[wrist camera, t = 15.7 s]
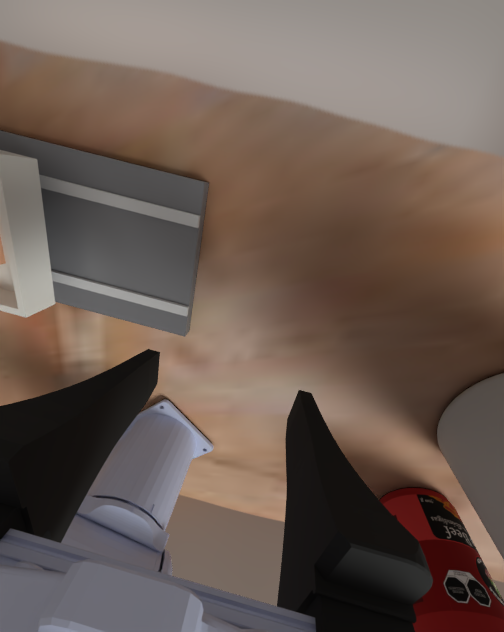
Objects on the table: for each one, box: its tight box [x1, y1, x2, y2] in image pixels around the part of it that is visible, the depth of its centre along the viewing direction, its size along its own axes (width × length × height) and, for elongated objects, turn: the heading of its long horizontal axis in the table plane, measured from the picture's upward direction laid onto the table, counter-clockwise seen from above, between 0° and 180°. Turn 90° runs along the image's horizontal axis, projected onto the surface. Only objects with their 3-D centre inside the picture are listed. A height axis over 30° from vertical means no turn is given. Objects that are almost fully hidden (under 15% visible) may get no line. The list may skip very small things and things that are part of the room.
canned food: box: [379, 488, 504, 632], centre depth 24 cm, size 8×8×11 cm
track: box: [0, 130, 209, 336], centre depth 20 cm, size 22×12×3 cm, turn 77°
